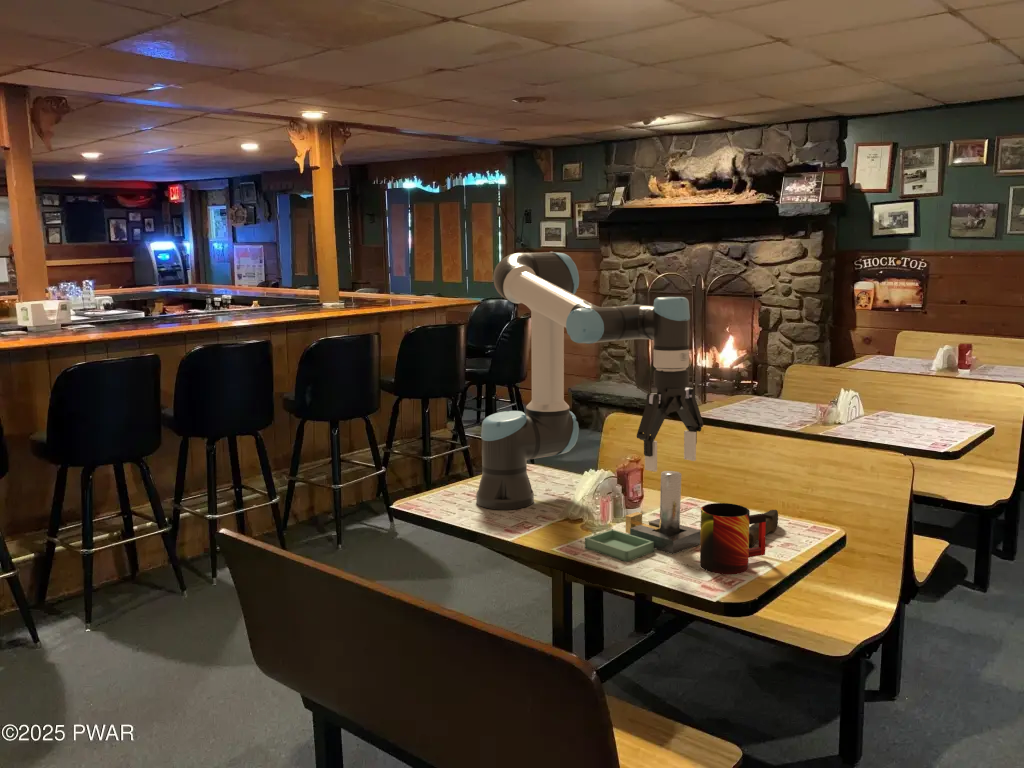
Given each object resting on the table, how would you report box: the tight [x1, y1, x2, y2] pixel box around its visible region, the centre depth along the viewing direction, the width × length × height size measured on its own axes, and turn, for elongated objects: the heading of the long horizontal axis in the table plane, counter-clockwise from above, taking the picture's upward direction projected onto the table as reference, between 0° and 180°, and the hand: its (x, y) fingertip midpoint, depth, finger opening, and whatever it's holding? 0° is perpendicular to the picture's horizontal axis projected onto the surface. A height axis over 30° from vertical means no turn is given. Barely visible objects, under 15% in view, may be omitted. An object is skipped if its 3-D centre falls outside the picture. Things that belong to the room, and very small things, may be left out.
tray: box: [584, 528, 655, 563], centre depth 182 cm, size 12×9×2 cm
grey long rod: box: [659, 470, 682, 536], centre depth 185 cm, size 4×4×16 cm
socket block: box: [629, 518, 701, 555], centre depth 186 cm, size 12×10×3 cm
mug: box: [699, 502, 767, 576], centre depth 172 cm, size 10×14×12 cm
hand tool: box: [749, 509, 779, 549], centre depth 189 cm, size 19×4×5 cm, turn 139°
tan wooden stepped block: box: [625, 511, 659, 534], centre depth 191 cm, size 8×4×4 cm, turn 41°
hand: (670, 465), depth 183 cm, fingers open, 13 cm apart
